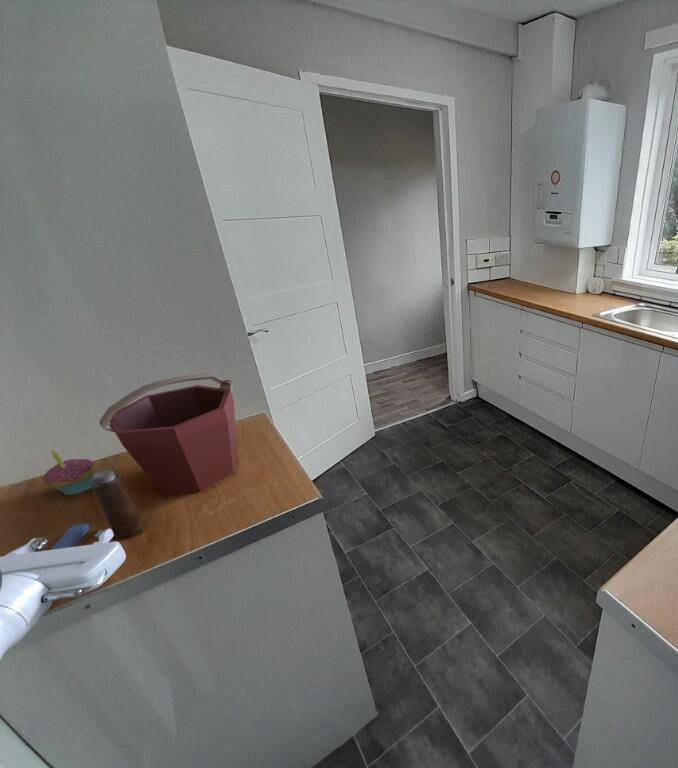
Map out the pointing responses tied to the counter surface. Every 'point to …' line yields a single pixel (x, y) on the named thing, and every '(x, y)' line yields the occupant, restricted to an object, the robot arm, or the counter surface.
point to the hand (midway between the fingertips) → (75, 536)
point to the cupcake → (70, 475)
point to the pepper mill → (117, 503)
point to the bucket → (179, 433)
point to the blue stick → (72, 536)
